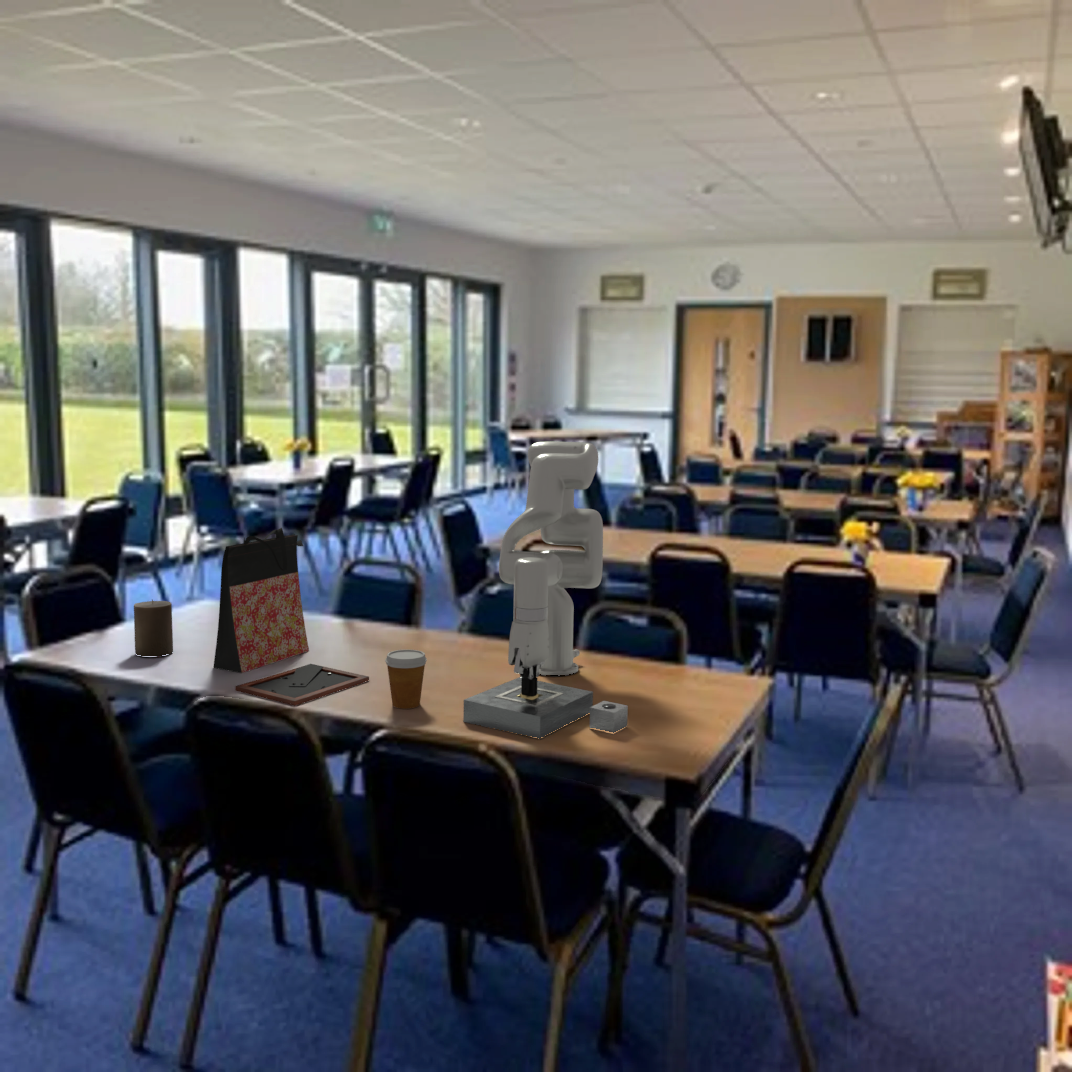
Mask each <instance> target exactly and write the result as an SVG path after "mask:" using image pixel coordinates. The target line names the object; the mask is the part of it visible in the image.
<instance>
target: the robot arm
mask: <svg viewBox="0 0 1072 1072" xmlns="http://www.w3.org/2000/svg"><path fill="white" fill-rule="evenodd" d="M527 458H528V463H529V466H530V472H529V478H528V479H529V481H528V486H527V487H528V488H527V495H526V503H525V504H526V505H525V509H524V512H522V513H521V514H520V515H518V516H517V517H516V518H514V520H513V521H512V522H511V524H510V525H509V526H508V527H507V530H506V531H505V533H504V535H503V537H502V540H501V545H500V546H501V547H500V552H499V553H500V554H499V561H498V575H499V577H500V579H501V581H502V582H503V583H505V584H509V585H513V621H511V627H510V632H509V639H508V640H509V641H508V653H507V658H508V659H507V663H508V664H509V666H514V667H513V673H515V674H519V677H521V678H522V681H521V694H522V695H527V696H531V697H533V696H534V695H537V681H538V678H539V676H546V675H558V676H557V677H561V676H560V675H565V676H570V675H569V674H571V675H574V674H576V673H578V671H579V665H578V664H577V663H576V662H574V660H575V658H577V657H579V656H580V650H579V649H576V648H575V649H574V614H575V613H574V612H575V611H574V610H575V609H574V602H573V599H572V597H571V596H570V594H569V593H568V592H567V590H566V589H568V588H571V589H574V588H575V589H596V588H598V587H599V585H600V584H601V581H602V578H603V568H604V567H603V566H604V565H603V561H604V560H603V557H604V555H603V554H604V549H603V548H604V524H603V523H604V522H603V518H602V515H601V514H600V512H599V511H597V510H596V509H592V508H580V507H579V508H577V507H575V490H580V491H581V490H587V489H589V487H590V486H591V484H592V483H593V480H594V477H595V475H596V472H597V470H598V466H599V452H598V449H597V447H596V445H595V444H593V443H591V442H584V441H583V442H580V441H578V442H577V441H555V440H554V441H553V440H551V441H550V440H549V441H537V442H534V443H533V444H530V445H529V448H528V450H527ZM538 530H539V531H540V536H541V540H542V541H543V542H544V543H546V544H548V545H549V544H550V545H555V546H576V547H582V548H583V549H584V550H570V549H546V550H542V551H540V552H538V551H537V552H536V551H519V550H517V551H516V549H515V548H516V547H517V544H518V543H519V542H520V541H521V539H523V538H524V537H526V536H527V535H529V534H531V533H533V532H534V533H535V532H536V531H538ZM573 673H574V674H573ZM540 674H541V675H540Z"/></svg>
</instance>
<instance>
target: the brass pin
mask: <svg viewBox="0 0 1072 1072" xmlns="http://www.w3.org/2000/svg"><path fill="white" fill-rule="evenodd" d="M520 698H525V699H530V700H534V699H536V698H538V693H537V695H534V696H533V697H531V696H527V695H522V694H520Z"/></svg>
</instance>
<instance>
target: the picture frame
mask: <svg viewBox="0 0 1072 1072" xmlns="http://www.w3.org/2000/svg"><path fill="white" fill-rule="evenodd" d="M368 680H369V681H370V676H367V675H363V674H359V673H355V672H350V671H345V670H341V669H336V668H333V667H327V666H322V665H319V664H313V663H308V664H306V665H302V666H299V667H295V668H291V669H289V670H285V671H282V672H279V673H274V674H271V675H269V676H264V677H261V678H258V679H255V680H252V681H248V682H244V683H241V684H237V685H235V686H234V691H235V692H237V693H242V694H245V695H250V696H254V697H258V698H262V699H266V700H269V701H274V702H277V703H280V704H285V705H289V706H294V707H297V706H299V705H302V704H305V703H309V702H310V701H315V700H317V699H319V697H320V698H323V697H326V696H330V695H332V694H334V693H333V692H335V693H338V692H340V691H339V690H341V691H343V690H342V689H344V690H346V689H345V688H347V689H350V688H352V686H353V687H356V686H358V685H357V684H359V685H361V683H362V684H364V683H363V682H365V681H368ZM369 681H368V682H369ZM365 683H366V682H365ZM355 685H356V686H355ZM349 687H350V688H349ZM337 691H338V692H337ZM331 693H332V694H331ZM325 695H326V696H325ZM322 696H323V697H322ZM304 702H305V703H304ZM301 703H302V704H301Z"/></svg>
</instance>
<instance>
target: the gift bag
mask: <svg viewBox="0 0 1072 1072" xmlns="http://www.w3.org/2000/svg"><path fill="white" fill-rule="evenodd" d="M283 530H284V529H283V527H280V528H277V529H274V530H272V531H271V532H270V533H269V534H267V535H266V536H265V537H264V538H263V539H261V538H259V537H256V536H253V535H250V536H249V535H248V536H247V537H246V538H245V537H243V543H237V544H231V545H228V546H227V545H226V546H225V549H224V553H223V556H222V561H221V571H220V573H221V574H220V593H219V611H218V622H217V634H216V643H215V644H216V645H215V651H214V661H213V667H214V668H213V669H218V668H219V669H218V670H224V671H228V670H229V672H235V673H239V674H243V673H246V672H249V670H250V671H252V670H253V671H254V670H255V669H258V668H262V667H266V666H267V665H271V664H273V663H276V662H280V661H282V660H283V661H284V660H285V659H289V658H292V657H295V656H298V655H301V654H304V653H307V652H310V649H309V643H308V636H307V631H306V625H305V619H304V618H305V617H304V613H303V612H304V611H303V604H302V596H301V595H302V594H301V587H300V585H301V583H300V577H299V566H298V555H297V553H298V552H297V551H298V549H297V547H304V544H303V541H302V539H299V540H298V536H299V535H298V534H296V533H293V534H288V535H285V534H284V531H283ZM271 535H275V537H272V538H269V536H271ZM251 540H252V541H251ZM253 540H254V541H253Z"/></svg>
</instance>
